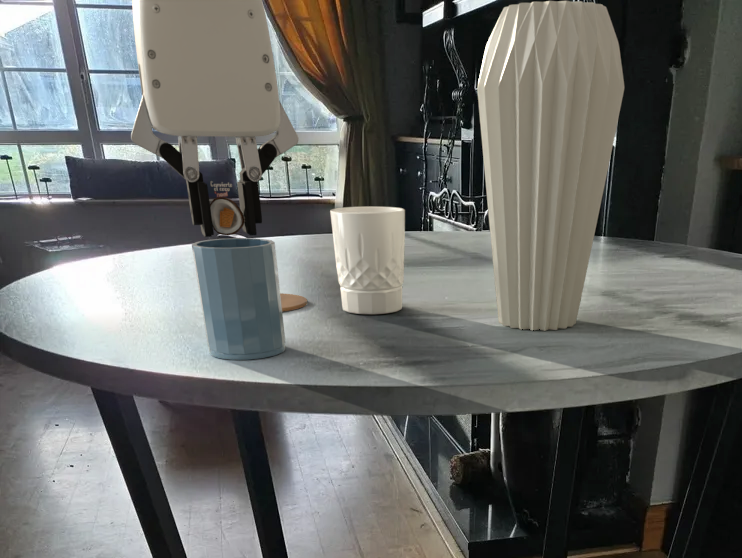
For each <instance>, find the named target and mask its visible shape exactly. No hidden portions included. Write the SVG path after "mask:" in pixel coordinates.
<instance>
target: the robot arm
mask: <svg viewBox="0 0 742 558" xmlns="http://www.w3.org/2000/svg"><path fill="white" fill-rule="evenodd" d="M131 1H132V20H133V32H134V33H133V34H134V41H135V42H134V43H135V50H136V59H137V60H136V61H137V67H138V68H137V69H138V75H139V83H140V89H141V91H140V92H141V99H140V103H139V106H138V109H137V110H138V111H137V113H136V117H135V120H134V123H133V126H132V130H131V133H130V139H131V141H132V143H133V144H135V145H137V146H138V147H140V148H142V149H144V150H146V151H148V152H150V153H151V154H153V155H156V156H158V157H159V158H162V159H163V160H164V161H165V162H166V163H167V164H168V165H169V166H170V167H171V168H172V169H173V170H174V171H176V172H177V173H178V175H180V176H181V177H182V178H183V179H184V180H185V182H186V188H187V189H186V190H187V197H188V203H189V210H190V215H191V216H190V217H191V222H192V225H193V226H200V232H201V234H202V235H203V237H205V238H209V237H210V238H212V236H214V234H215V230H214V228H213V224H212V216H211V209H210V204H211V202H210V195H209V187H208V184H207V183H206V182H205V181H204V176H203V175H204V174H203V173H202V172H201V171H200V166H199V165H200V164H199V148H198V147H199V146H198V145H199V144H198V137H234V138H235V142H236V148H237V153H238V157H239V163H240V164H239V165H240V169H241V170H240V172H239V179H238V181H237V183H236V184H237V194H238V201H239V208H240V210H241V211H242V213H243V215H244V217H245V219H244V220H245V222H244V225H243V227H242V228H241V229H242V231H243V232H244V233H246V234H247V235H248V236H257V232H258V231H257V224H262V223H263V216H262V206H261V205H262V204H261V197H260V187H259V181H260V180H261V179H262V176H263V175H264V174H265V172H266V171H267V170H268V168H269V167H270V166H271V164H272V163H273V162H274V160H275V159H276V158H277V157H280V156H281V155H283V154H284V153H286V152H287V151H289V150H291V149H292V148H293V147H295V146H297V144H298V143H299V136H298V134H297V131H296V129H295V128H294V125H293V124H292V122H291V120H290V118H289V116H288V114H287V112H286V110H285V109H284V107H283V105H282V103H281V101H280V95H279V87H278V81H277V73H276V66H275V60H274V54H273V48H272V42H271V36H270V31H269V26H268V20H267V16H266V10H265V6H264V3H263V0H131ZM153 130H154V131H156V132H158V133H160V134H164V135H167V136H168V135H169V136H176V137H177V140H178V149H177V148H176V147H175V146H173V144H171V143H169V142H168V141H166V140H164V139H162V138H160V137H158V136H156V135H155V133H154V131H153ZM273 133H274V136H273V137H271V138H270V139H269V140H267V141H265V142H264V143H262V144H260V145H259V147H258V144H257V139H256V137H265V136H269V135H271V134H273Z"/></svg>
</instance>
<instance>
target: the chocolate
mask: <svg viewBox="0 0 742 558" xmlns="http://www.w3.org/2000/svg"><path fill="white" fill-rule="evenodd" d="M212 183H213V184H212ZM210 187H214V188H213V191H214V194H215V195H216V197H215V198H214V199H212V201H211V202H210V209H211V216H212V224H213V231H214V232H216V233H217V234H219V235H221V236H232V235H236V234H237V233H238V232H239V231H240V230H241V229H243V228H242V227H243V225H244V222H245V220H244V219H245V217H244V215H243V213H242V211H241V210H240V206H239V205H238V204H237V203H236V202H235V201H233V200H232V199H230V198H227V197H228V196H229V194H228V192H230V188H232V187H233V184H232V183H230V182H229V181H228V182H227V183H224V182H223V181H221V183H214V181H212V180H211V181H210ZM218 187H219V190H218ZM218 191H220V193H219V192H218ZM224 191H225V192H224Z"/></svg>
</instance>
